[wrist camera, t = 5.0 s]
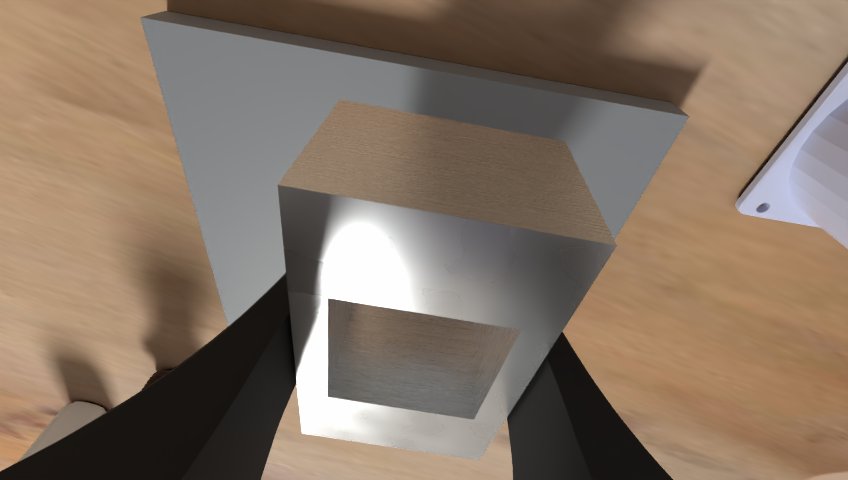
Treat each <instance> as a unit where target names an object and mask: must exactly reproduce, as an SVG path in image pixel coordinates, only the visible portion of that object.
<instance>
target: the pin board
mask: <svg viewBox="0 0 848 480" xmlns="http://www.w3.org/2000/svg"><path fill="white" fill-rule="evenodd" d="M140 18H141V21H142V25H143V28H144V32H145V35H146V39H147V42H148V46H149V49H150V53H151V56H152V60H153V63H154V67H155V71H156V74H157V78H158V81H159V85H160V88H161V92H162V95H163V99H164V102H165V106H166V109H167V113H168V116H169V120H170V123H171V127H172V130H173V134H174V137H175V141H176V144H177V148H178V152H179V155H180V159H181V162H182V166H183V169H184V173H185V176H186V180H187V183H188V187H189V190H190V194H191V197H192V201H193V204H194V208H195V211H196V215H197V218H198V222H199V225H200V229H201V232H202V236H203V240H204V243H205V247H206V250H207V254H208V257H209V261H210V264H211V268H212V271H213V275H214V278H215V282H216V285H217V289H218V292H219V296H220V299H221V303H222V306H223V310H224V313H225V317H226V320H227V324H228V326H229V325H230V324H232V323H233V322H234V321H235V320H236V319H238V318H239V317H240V316H241V315H242V314H243V313H244V312H246V311H247V310H248V309H249V308H250V307H251V306H252V305H253V304H254V303H255V302H256V301H257V300H258V299H259V298H261V297H262V296H263V295H264V294H265V293H266V292H267V291H268V290H269V289H270V288H271V287H272V286H273V285H274V284H275V283H276V282H277V281H278V280H279V279H280V278H281V277H282V276H283V275H284V274H285V273H286V268H285V257H284V247H283V237H282V227H281V216H280V206H279V196H278V186H277V185H278V183H279V182H280V180H281V179H282V178H283V176H284V175H285V174H286V172H287V171H288V169H289V168H290V167H291V165H292V164H293V163H294V161H295V160H296V159H297V157H298V156H299V154H300V153H301V152H302V150H303V149H304V148H305V146H306V145H307V144H308V142H309V141H310V139H311V138H312V137H313V135H314V134H315V133H316V131H317V130H318V129H319V127H320V126H321V124H322V123H323V122H324V120H325V119H326V118H327V116H328V115H329V114H330V112H331V111H332V109H333V108H334V107H335V105H336V104H337V103H338V101H339V100H340V99H342V100H347V101H352V102H358V103H363V104H368V105H373V106H379V107H384V108H389V109H395V110H400V111H405V112H410V113H416V114H421V115H426V116H432V117H437V118H442V119H447V120H453V121H458V122H463V123H469V124H474V125H479V126H484V127H490V128H495V129H500V130H506V131H511V132H516V133H521V134H527V135H532V136H537V137H542V138H548V139H553V140H558V141H564V142H566V144H567V146H568V148H569V150H570V152H571V154H572V156H573V158H574V160H575V162H576V164H577V166H578V168H579V170H580V172H581V174H582V176H583V178H584V180H585V182H586V184H587V186H588V188H589V190H590V192H591V194H592V196H593V198H594V200H595V202H596V204H597V206H598V208H599V210H600V212H601V214H602V216H603V218H604V220H605V222H606V224H607V226H608V228H609V230H610V232H611V234H612V236H613V238H614V240H615V239H616V237H617V235H618V234H619V232H620V230H621V229H622V227H623V225H624V224H625V222H626V220H627V219H628V217H629V215H630V214H631V212H632V210H633V209H634V207H635V205H636V204H637V202H638V201H639V199H640V197H641V196H642V194H643V192H644V191H645V189H646V187H647V186H648V184H649V182H650V181H651V179H652V177H653V176H654V174H655V172H656V171H657V169H658V167H659V166H660V164H661V162H662V161H663V159H664V157H665V156H666V154H667V152H668V151H669V149H670V148H671V146H672V144H673V143H674V141H675V139H676V138H677V136H678V134H679V133H680V131H681V129H682V128H683V126H684V124H685V123H686V121H687V119H688V118H689V116H688V115H687V114H685V113H684V112H683V111H682V110H680V109H679V108H678V107H677V106H675V105H674V104H673V103H671V102H666V101H660V100H655V99H649V98H644V97H638V96H633V95H627V94H622V93H616V92H611V91H605V90H600V89H594V88H589V87H583V86H578V85H572V84H567V83H561V82H556V81H550V80H545V79H539V78H533V77H528V76H522V75H517V74H511V73H506V72H500V71H495V70H489V69H484V68H478V67H473V66H467V65H462V64H456V63H451V62H445V61H440V60H434V59H429V58H423V57H418V56H412V55H407V54H401V53H396V52H390V51H385V50H379V49H374V48H368V47H363V46H357V45H352V44H346V43H341V42H335V41H330V40H324V39H319V38H313V37H308V36H302V35H297V34H291V33H285V32H280V31H274V30H269V29H263V28H258V27H252V26H247V25H241V24H236V23H230V22H225V21H219V20H214V19H208V18H203V17H197V16H192V15H186V14H181V13H175V12H170V11H164V12H160V13H156V14H152V15H148V16H144V17H140Z"/></svg>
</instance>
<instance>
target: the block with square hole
mask: <svg viewBox="0 0 848 480" xmlns="http://www.w3.org/2000/svg"><path fill="white" fill-rule="evenodd" d="M277 186H278V196H279V206H280V216H281V227H282V237H283V247H284V257H285V268H286V278H287V288H288V298H289V308H290V319H291V329H292V339H293V349H294V359H295V370H296V380H297V390H298V400H299V410H300V421H301V431H302V434H309V435H315V436H322V437H328V438H335V439H342V440H348V441H355V442H361V443H368V444H375V445H381V446H388V447H395V448H401V449H408V450H414V451H421V452H428V453H434V454H441V455H447V456H454V457H461V458H467V459H474V460H480V459H481V457H482V456H483V454H484V453H485V451H486V449H487V448H488V446H489V445H490V443H491V442H492V440H493V438H494V437H495V435H496V434H497V432H498V431H499V429H500V428H501V426H502V424H503V423H504V421H505V420H506V418H507V417H508V415H509V413H510V412H511V410H512V409H513V407H514V406H515V404H516V403H517V401H518V399H519V398H520V396H521V395H522V393H523V392H524V390H525V388H526V387H527V385H528V384H529V382H530V381H531V379H532V378H533V376H534V374H535V373H536V371H537V370H538V368H539V367H540V365H541V363H542V362H543V360H544V359H545V357H546V356H547V354H548V353H549V351H550V349H551V348H552V346H553V345H554V343H555V342H556V340H557V338H558V337H559V335H560V334H561V332H562V331H563V329H564V328H565V326H566V324H567V323H568V321H569V320H570V318H571V317H572V315H573V313H574V312H575V310H576V309H577V307H578V306H579V304H580V303H581V301H582V299H583V298H584V296H585V295H586V293H587V292H588V290H589V288H590V287H591V285H592V284H593V282H594V281H595V279H596V278H597V276H598V274H599V273H600V271H601V270H602V268H603V267H604V265H605V263H606V262H607V260H608V259H609V257H610V256H611V254H612V253H613V251H614V249H615V248H616V246H617V244H616V242H615V240H614V238H613V236H612V234H611V232H610V230H609V228H608V226H607V224H606V222H605V220H604V218H603V216H602V214H601V212H600V210H599V208H598V206H597V204H596V202H595V200H594V198H593V196H592V194H591V192H590V190H589V188H588V186H587V184H586V182H585V180H584V178H583V176H582V174H581V172H580V170H579V168H578V166H577V164H576V162H575V160H574V158H573V156H572V154H571V152H570V150H569V148H568V146H567V144H566V142H564V141H558V140H553V139H548V138H542V137H537V136H532V135H527V134H521V133H516V132H511V131H506V130H500V129H495V128H490V127H484V126H479V125H474V124H469V123H463V122H458V121H453V120H447V119H442V118H437V117H432V116H426V115H421V114H416V113H410V112H405V111H400V110H395V109H389V108H384V107H379V106H373V105H368V104H363V103H358V102H352V101H347V100H342V99H340V100H339V101H338V103H337V104H336V105H335V107H334V108H333V109H332V111H331V112H330V114H329V115H328V116H327V118H326V119H325V120H324V122H323V123H322V124H321V126H320V127H319V129H318V130H317V131H316V133H315V134H314V135H313V137H312V138H311V139H310V141H309V142H308V144H307V145H306V146H305V148H304V149H303V150H302V152H301V153H300V154H299V156H298V157H297V159H296V160H295V161H294V163H293V164H292V165H291V167H290V168H289V169H288V171H287V172H286V174H285V175H284V176H283V178H282V179H281V180H280V182H279V183H278V185H277Z"/></svg>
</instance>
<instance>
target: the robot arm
mask: <svg viewBox="0 0 848 480" xmlns="http://www.w3.org/2000/svg"><path fill="white" fill-rule="evenodd" d="M763 203H764V204H763ZM761 204H763V205H762V206H760V207H758V206H759V205H761ZM735 207H736V208H737V210H738V211H739V212H740V213H742V214H745V215H750V216H756V217H762V218H768V219H773V220H779V221H785V222H791V223H797V224H802V225H808V226H814V227H820V228H823V229H824V230H825V231H826V232H827V233H829V234H830V235H831V236H832V237H834V238H835V239H836V240H837V241H839V242H840V243H841V244H842V245H843V246H845V247H846V248H847V249H848V62H847V64H846V65H845V66H844V67H843V69H842V70H841V71H840V72H839V74H838V75H837V76H836V77H835V79H834V80H833V81H832V82H831V84H830V85H829V86H828V87H827V89H826V90H825V91H824V92H823V94H822V95H821V96H820V97H819V99H818V100H817V101H816V102H815V104H814V105H813V106H812V107H811V109H810V110H809V111H808V112H807V114H806V115H805V116H804V117H803V119H802V120H801V121H800V122H799V124H798V125H797V126H796V127H795V129H794V130H793V131H792V132H791V134H790V135H789V136H788V137H787V139H786V140H785V141H784V142H783V144H782V145H781V146H780V147H779V149H778V150H777V151H776V152H775V154H774V155H773V156H772V157H771V159H770V160H769V161H768V162H767V164H766V165H765V166H764V167H763V169H762V170H761V171H760V172H759V174H758V175H757V176H756V177H755V179H754V180H753V181H752V182H751V184H750V185H749V186H748V187H747V189H746V190H745V191H744V192H743V194H742V195H741V196H740V197H739V199H738V200H737V202H736V204H735ZM757 207H758V208H757ZM296 382H297V380H296V370H295V359H294V349H293V339H292V329H291V319H290V308H289V298H288V288H287V278H286V273H285V274H284V275H283V276H282V277H281V278H280V279H279V280H278V281H277V282H276V283H275V284H274V285H273V286H272V287H271V288H270V289H269V290H268V291H267V292H266V293H265V294H264V295H263V296H262V297H261V298H259V299H258V300H257V301H256V302H255V303H254V304H253V305H252V306H251V307H250V308H249V309H248V310H247V311H246V312H244V313H243V314H242V315H241V316H240V317H239V318H238V319H236V320H235V321H234V322H233V323H232V324H230V325H229V326H228V327H227V328H226V329H225V330H223V331H222V332H221V333H220V334H219V335H217V336H216V337H215V338H214V339H213V340H211V341H210V342H209V343H208V344H206V345H205V346H204V347H202V348H201V349H200V350H199V351H197V352H196V353H195V354H193V355H192V356H191V357H189V358H188V359H186V360H185V361H184V362H182V363H181V364H180V365H178V366H177V367H175V368H174V369H173V370H171V371H170V372H168V373H167V374H165V375H164V376H162V377H161V378H159V379H158V380H157V381H155V382H154V383H152V384H151V385H149V386H148V387H146V388H145V389H143V390H142V391H140V392H139V393H137V394H136V395H134V396H132V397H131V398H129V399H128V400H126V401H125V402H123V403H121V404H120V405H118V406H116V407H115V408H113V409H111V410H110V411H108V412H106V413H105V414H103V415H101V416H99V417H98V418H96V419H94V420H93V421H91V422H89V423H88V424H86V425H84V426H83V427H81V428H79V429H78V430H76V431H74V432H73V433H71V434H69V435H67V436H66V437H64V438H62V439H60V440H58V441H57V442H55V443H53V444H51V445H49V446H47V447H45V448H44V449H42V450H40V451H38V452H36V453H34V454H32V455H30V456H29V457H27V458H25V459H23V460H21V461H19V462H17V463H15V464H14V465H12V466H10V467H8V468H6V469H4V470H2V471H0V480H261V477H262V474H263V470H264V467H265V464H266V461H267V458H268V455H269V452H270V449H271V446H272V443H273V440H274V437H275V433H276V431H277V428H278V425H279V423H280V420H281V418H282V415H283V412H284V410H285V408H286V406H287V403H288V401H289V399H290V396H291V394H292V392H293V389H294V387H295V385H296ZM507 421H508V428H509V436H510V444H511V453H512V464H513V480H673V479H672V478H671V477H670V476H669V475H668V474H667V472H666V471H665V470H664V469H663V468H662V467H661V466H660V465H659V464H658V463H657V461H656V460H655V459H654V458H653V457H652V456H651V454H650V453H649V452H648V451H647V450H646V449H645V448H644V446H643V445H642V444H641V443H640V441H639V440H638V439H637V438H636V437H635V435H634V434H633V433H632V432H631V430H630V429H629V428H628V427H627V425H626V424H625V423H624V422H623V420H622V419H621V418H620V417H619V415H618V414H617V413H616V411H615V410H614V409H613V407H612V406H611V405H610V403H609V402H608V400H607V399H606V398H605V396H604V395H603V393H602V392H601V391H600V389H599V388H598V386H597V385H596V384H595V382H594V381H593V379H592V378H591V376H590V375H589V373H588V372H587V370H586V369H585V367H584V365H583V364H582V362H581V361H580V359H579V358H578V356H577V355H576V353H575V351H574V350H573V348H572V347H571V345H570V343H569V342H568V340H567V338H566V337H565V335H564V333H563V332H561V334H560V335H559V337H558V338H557V340H556V342H555V343H554V345H553V346H552V348H551V349H550V351H549V353H548V354H547V356H546V357H545V359H544V360H543V362H542V363H541V365H540V367H539V368H538V370H537V371H536V373H535V374H534V376H533V378H532V379H531V381H530V382H529V384H528V385H527V387H526V388H525V390H524V392H523V393H522V395H521V396H520V398H519V399H518V401H517V403H516V404H515V406H514V407H513V409H512V410H511V412H510V413H509V415H508V417H507Z"/></svg>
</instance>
